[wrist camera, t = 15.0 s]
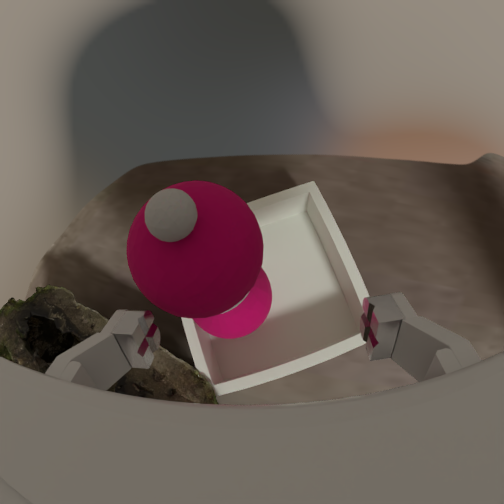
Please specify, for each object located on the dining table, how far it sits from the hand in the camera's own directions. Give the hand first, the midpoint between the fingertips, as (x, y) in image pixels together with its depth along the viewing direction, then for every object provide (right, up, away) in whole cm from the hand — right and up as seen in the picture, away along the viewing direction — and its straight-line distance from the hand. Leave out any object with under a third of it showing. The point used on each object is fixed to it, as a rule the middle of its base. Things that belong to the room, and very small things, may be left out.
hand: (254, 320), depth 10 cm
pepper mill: (-2, -3, +17) cm, 17 cm away
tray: (+2, -2, +18) cm, 18 cm away
